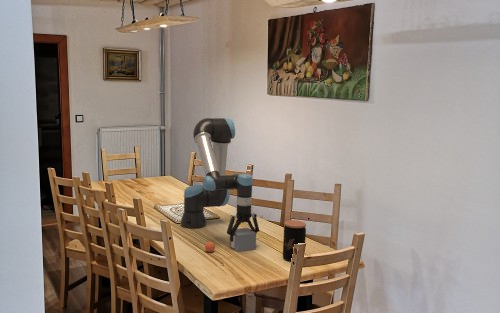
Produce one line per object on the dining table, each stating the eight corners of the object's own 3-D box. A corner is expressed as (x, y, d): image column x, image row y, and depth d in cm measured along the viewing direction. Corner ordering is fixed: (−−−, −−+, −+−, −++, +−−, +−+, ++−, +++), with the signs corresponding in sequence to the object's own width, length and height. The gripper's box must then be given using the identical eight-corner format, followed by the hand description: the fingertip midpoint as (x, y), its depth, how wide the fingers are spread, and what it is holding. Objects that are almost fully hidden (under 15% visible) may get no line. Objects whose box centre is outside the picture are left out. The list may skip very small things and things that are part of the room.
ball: (203, 250, 240) (203, 241, 239) (212, 249, 242) (213, 240, 241) (206, 253, 236) (207, 244, 235) (216, 252, 238) (216, 243, 237)
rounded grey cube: (229, 245, 249) (230, 229, 248) (247, 243, 253) (247, 227, 252) (237, 251, 240) (238, 235, 239) (255, 249, 244) (256, 233, 243)
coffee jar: (278, 258, 233) (279, 222, 231) (292, 253, 241) (293, 219, 238) (294, 264, 226) (296, 227, 223) (308, 259, 233) (310, 223, 231)
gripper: (226, 207, 235) (225, 250, 238) (267, 204, 245) (265, 246, 248) (220, 204, 242) (219, 246, 245) (260, 201, 251) (259, 241, 255)
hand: (242, 246), depth 246 cm, fingers closed on rounded grey cube, 10 cm apart
